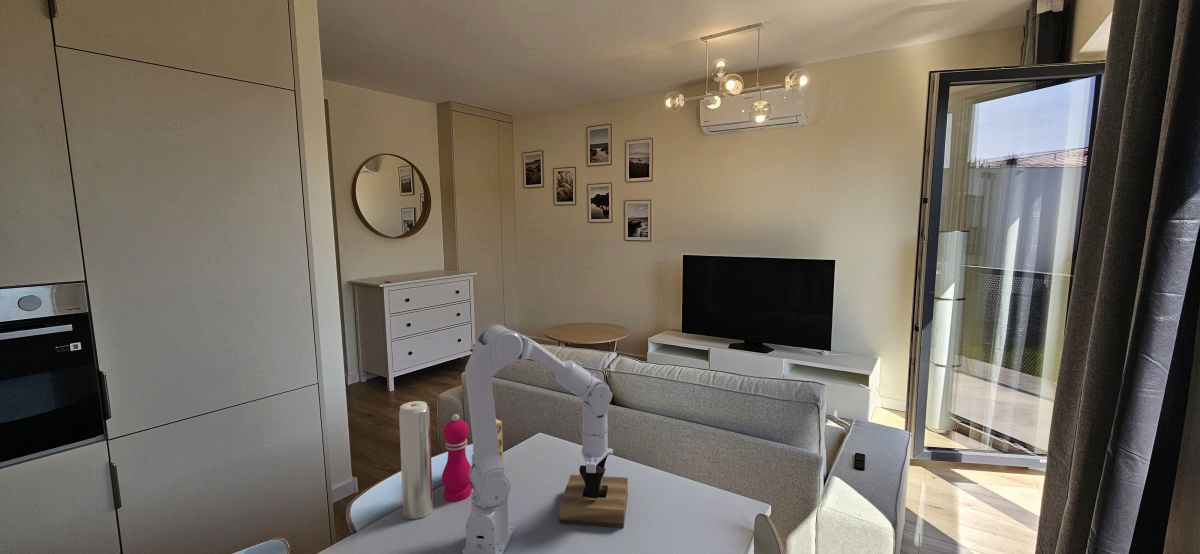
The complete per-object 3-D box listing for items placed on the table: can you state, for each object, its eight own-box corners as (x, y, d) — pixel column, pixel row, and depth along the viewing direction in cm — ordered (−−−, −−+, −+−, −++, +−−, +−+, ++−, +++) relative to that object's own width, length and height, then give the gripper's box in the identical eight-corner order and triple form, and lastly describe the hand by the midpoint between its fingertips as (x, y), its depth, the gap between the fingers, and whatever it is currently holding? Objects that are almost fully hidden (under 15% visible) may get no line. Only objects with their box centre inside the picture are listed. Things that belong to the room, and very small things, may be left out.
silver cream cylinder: (423, 521, 105) (419, 410, 103) (396, 517, 107) (392, 408, 105) (438, 505, 112) (435, 400, 110) (413, 502, 113) (409, 398, 111)
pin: (601, 508, 108) (600, 473, 107) (584, 507, 109) (582, 472, 108) (604, 499, 112) (603, 465, 111) (588, 498, 112) (586, 464, 112)
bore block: (623, 527, 102) (623, 509, 102) (559, 523, 104) (559, 505, 104) (627, 493, 116) (627, 477, 116) (571, 490, 118) (570, 474, 118)
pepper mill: (477, 487, 120) (475, 409, 118) (466, 503, 112) (464, 420, 111) (449, 486, 120) (447, 408, 119) (437, 501, 113) (434, 419, 112)
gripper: (609, 445, 101) (609, 506, 102) (615, 419, 115) (615, 473, 117) (576, 443, 102) (576, 504, 103) (586, 418, 116) (586, 472, 117)
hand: (595, 488), depth 110 cm, fingers open, 7 cm apart
